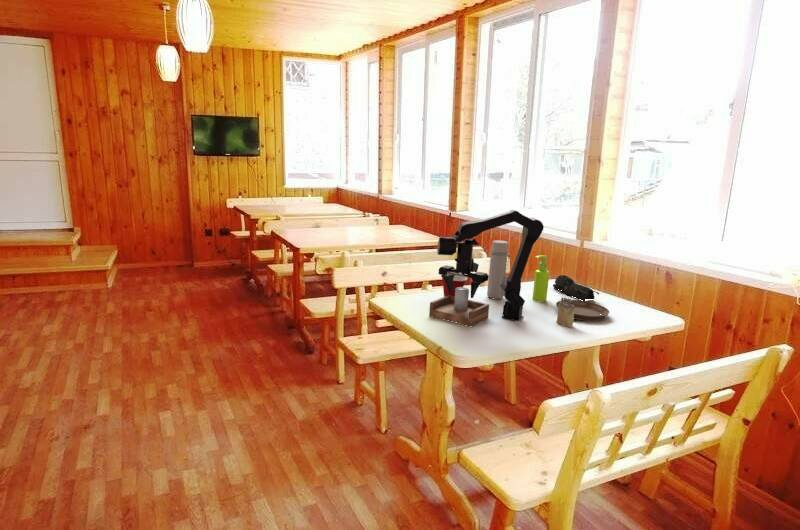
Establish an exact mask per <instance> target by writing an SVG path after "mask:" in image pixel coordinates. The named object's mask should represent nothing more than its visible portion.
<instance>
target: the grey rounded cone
mask: <svg viewBox="0 0 800 530" xmlns="http://www.w3.org/2000/svg"><path fill="white" fill-rule="evenodd" d="M469 294H470V289H469V288H467V287H465V286H463V287H457V288H455V301H454V309H455V310H457V311H467V309H468V300H469V296H470V295H469Z"/></svg>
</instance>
